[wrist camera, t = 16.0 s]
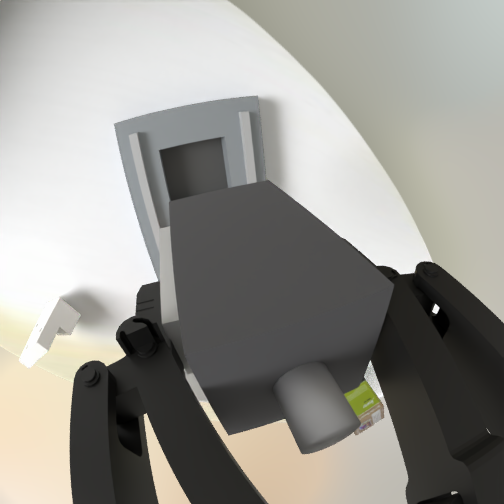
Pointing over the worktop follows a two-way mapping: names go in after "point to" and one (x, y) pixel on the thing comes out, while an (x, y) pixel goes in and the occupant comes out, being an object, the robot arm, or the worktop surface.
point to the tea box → (365, 405)
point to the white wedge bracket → (49, 330)
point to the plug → (274, 311)
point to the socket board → (188, 157)
